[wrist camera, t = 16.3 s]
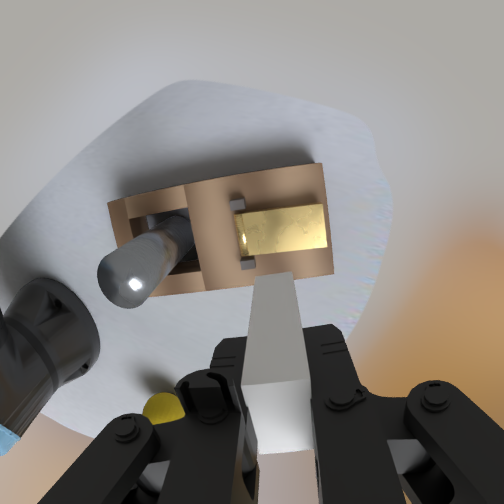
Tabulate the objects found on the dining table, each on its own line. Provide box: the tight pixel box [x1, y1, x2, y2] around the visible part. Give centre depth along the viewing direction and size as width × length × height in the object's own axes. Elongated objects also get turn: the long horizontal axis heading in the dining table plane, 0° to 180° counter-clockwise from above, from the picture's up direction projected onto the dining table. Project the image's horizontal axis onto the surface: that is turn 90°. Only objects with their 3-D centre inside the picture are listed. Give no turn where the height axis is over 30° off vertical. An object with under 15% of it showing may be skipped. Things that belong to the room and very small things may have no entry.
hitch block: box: [107, 163, 334, 297], centre depth 28 cm, size 20×10×5 cm, turn 99°
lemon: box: [142, 392, 185, 425], centre depth 34 cm, size 6×6×8 cm
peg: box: [97, 216, 195, 309], centre depth 25 cm, size 4×4×13 cm
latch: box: [234, 202, 327, 256], centre depth 25 cm, size 7×4×1 cm, turn 99°
